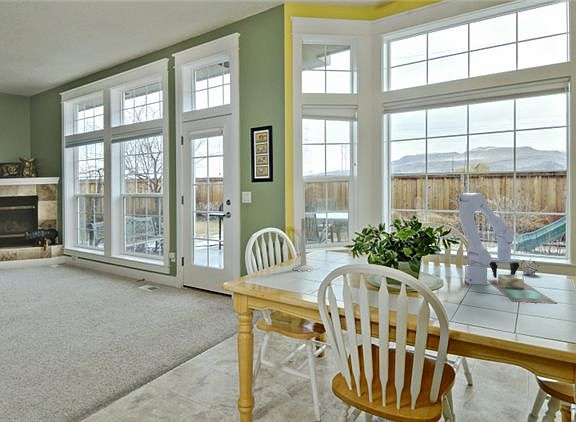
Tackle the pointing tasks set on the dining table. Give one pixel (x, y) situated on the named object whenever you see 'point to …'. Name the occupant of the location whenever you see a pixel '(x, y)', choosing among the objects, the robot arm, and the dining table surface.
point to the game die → (529, 267)
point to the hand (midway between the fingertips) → (503, 277)
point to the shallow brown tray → (522, 293)
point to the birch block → (511, 281)
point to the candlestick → (303, 252)
